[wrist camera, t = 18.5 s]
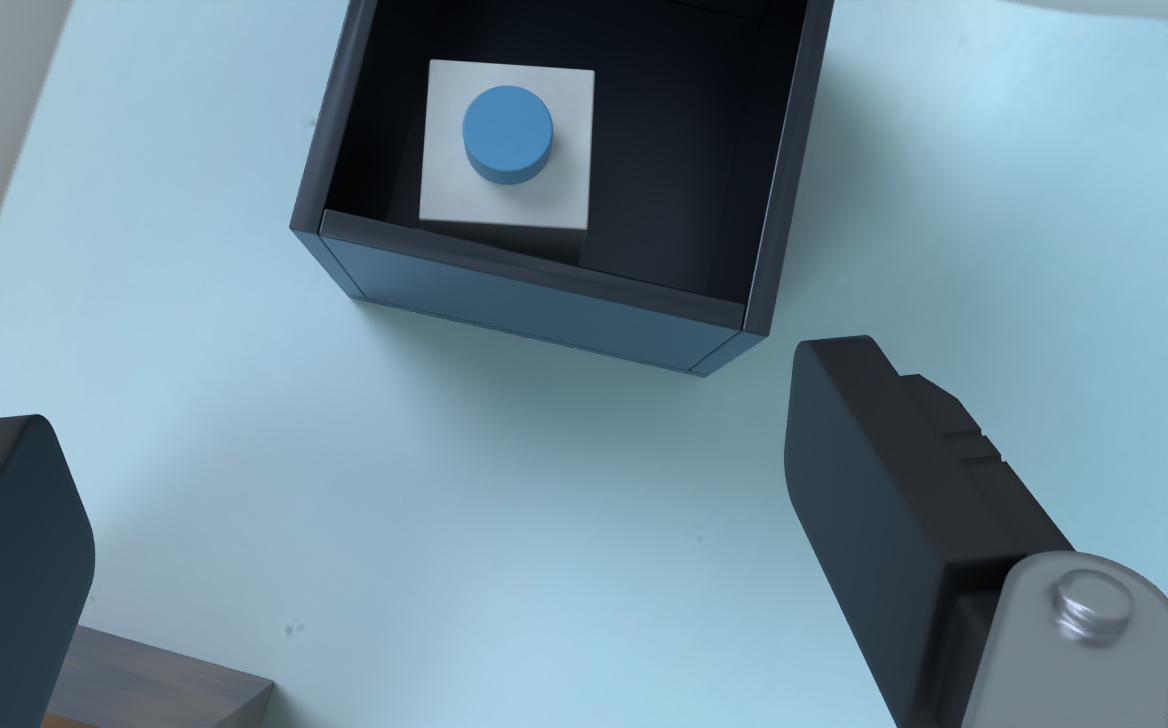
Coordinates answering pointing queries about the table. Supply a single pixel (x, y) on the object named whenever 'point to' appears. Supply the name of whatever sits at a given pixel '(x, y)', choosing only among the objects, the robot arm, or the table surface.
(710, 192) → the black open box
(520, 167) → the white box
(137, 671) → the brown box
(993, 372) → the table surface
